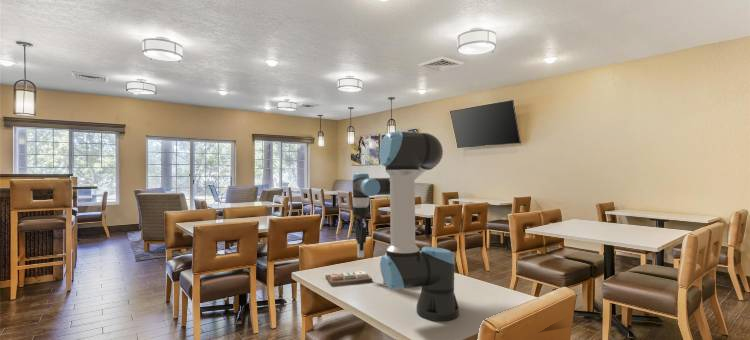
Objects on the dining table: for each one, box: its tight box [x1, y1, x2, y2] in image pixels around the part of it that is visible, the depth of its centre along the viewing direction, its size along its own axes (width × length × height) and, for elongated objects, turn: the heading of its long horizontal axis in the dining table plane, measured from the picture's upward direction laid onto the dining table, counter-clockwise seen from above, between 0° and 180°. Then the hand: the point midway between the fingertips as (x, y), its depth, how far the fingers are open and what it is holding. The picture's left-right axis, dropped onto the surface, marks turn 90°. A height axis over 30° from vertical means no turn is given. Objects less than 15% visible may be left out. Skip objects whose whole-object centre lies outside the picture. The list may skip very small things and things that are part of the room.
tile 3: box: [329, 273, 342, 280], centre depth 171 cm, size 4×4×3 cm
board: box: [325, 271, 373, 287], centre depth 173 cm, size 12×19×2 cm, turn 109°
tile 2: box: [342, 271, 355, 279], centre depth 173 cm, size 4×4×3 cm
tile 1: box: [354, 270, 368, 278], centre depth 175 cm, size 4×4×3 cm
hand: (360, 257), depth 174 cm, fingers closed
